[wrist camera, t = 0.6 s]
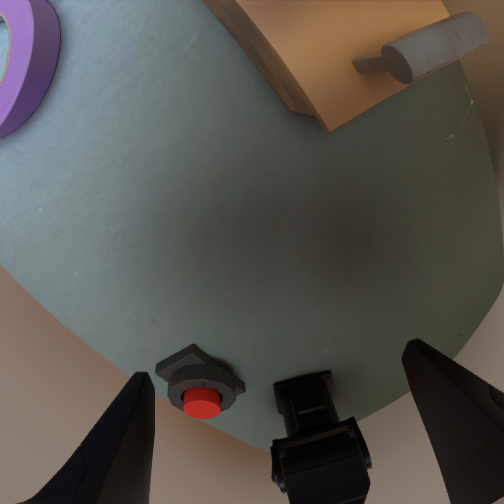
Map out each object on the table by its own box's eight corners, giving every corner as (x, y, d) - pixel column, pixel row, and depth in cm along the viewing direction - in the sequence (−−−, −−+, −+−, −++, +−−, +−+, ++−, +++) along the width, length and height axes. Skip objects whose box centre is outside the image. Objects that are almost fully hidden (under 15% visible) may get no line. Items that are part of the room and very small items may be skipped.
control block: (250, 380, 30) (253, 403, 27) (204, 401, 31) (204, 423, 28) (198, 340, 26) (198, 366, 23) (151, 366, 27) (148, 390, 25)
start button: (226, 396, 27) (227, 411, 25) (200, 407, 27) (200, 422, 26) (203, 381, 25) (203, 396, 24) (176, 393, 26) (175, 408, 24)
